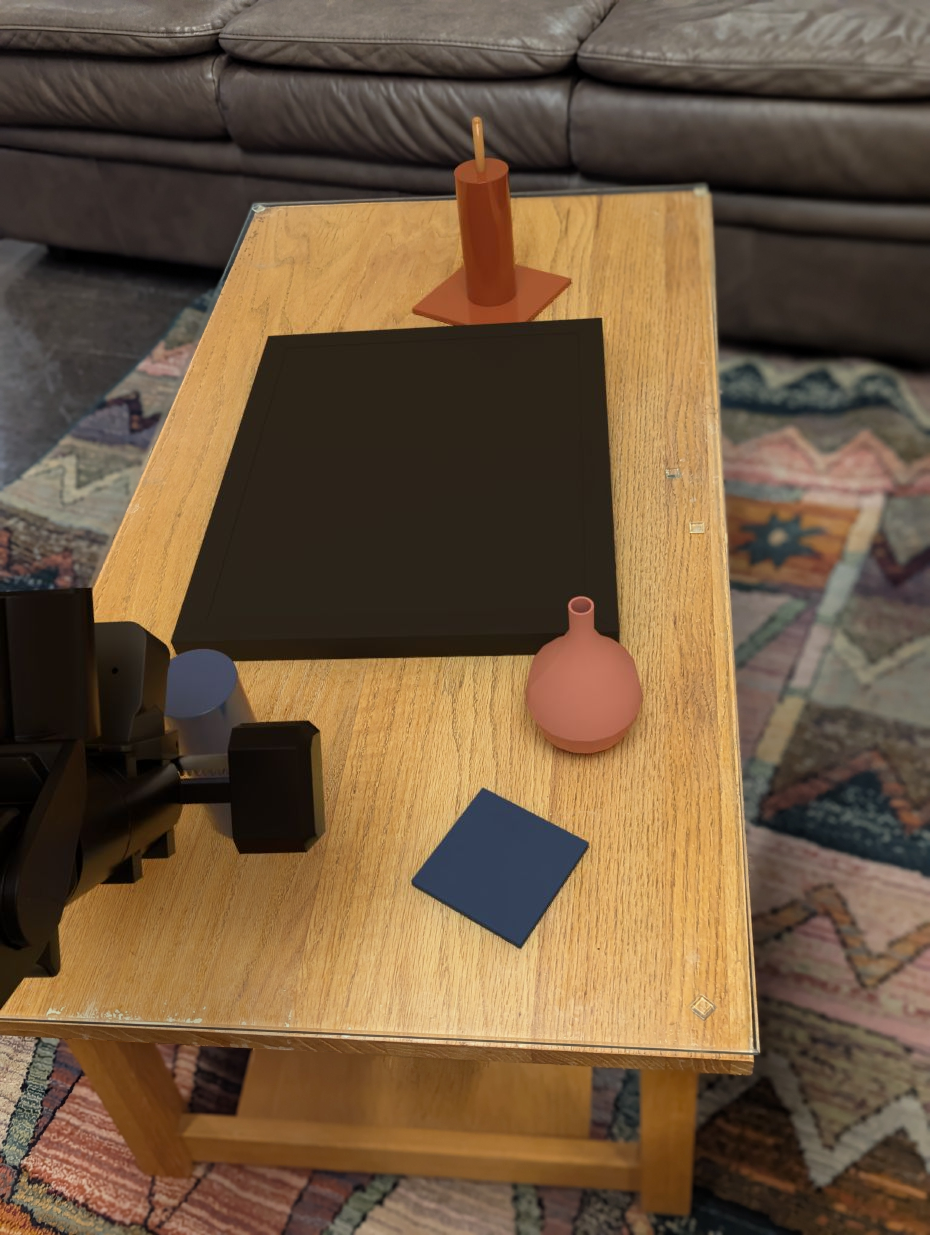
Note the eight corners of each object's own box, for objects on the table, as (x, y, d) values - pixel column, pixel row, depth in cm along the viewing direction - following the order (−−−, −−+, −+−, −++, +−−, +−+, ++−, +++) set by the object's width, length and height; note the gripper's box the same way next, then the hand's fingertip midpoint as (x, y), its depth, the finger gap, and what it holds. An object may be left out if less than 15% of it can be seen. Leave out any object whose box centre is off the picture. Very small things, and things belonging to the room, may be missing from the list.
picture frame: (179, 662, 81) (619, 653, 78) (170, 641, 80) (619, 631, 76) (273, 356, 109) (602, 338, 105) (268, 335, 107) (602, 317, 103)
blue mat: (520, 949, 63) (520, 945, 63) (411, 885, 67) (410, 880, 66) (589, 847, 67) (589, 841, 67) (483, 791, 71) (482, 786, 70)
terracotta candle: (499, 311, 109) (484, 133, 96) (457, 299, 111) (437, 124, 98) (526, 286, 112) (515, 110, 99) (484, 275, 114) (469, 101, 101)
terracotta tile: (509, 341, 106) (509, 336, 106) (412, 313, 112) (411, 308, 111) (571, 283, 113) (571, 278, 112) (476, 258, 118) (476, 253, 117)
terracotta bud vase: (662, 745, 72) (669, 624, 63) (560, 789, 70) (553, 672, 62) (605, 667, 77) (605, 545, 68) (509, 707, 75) (496, 587, 67)
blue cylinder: (250, 852, 69) (193, 731, 60) (192, 816, 72) (129, 695, 62) (301, 793, 72) (255, 669, 63) (245, 761, 74) (192, 636, 65)
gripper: (269, 629, 45) (344, 613, 61) (-153, 647, 47) (26, 627, 62) (283, 892, 45) (354, 809, 61) (-134, 901, 47) (38, 818, 63)
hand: (191, 760), depth 62 cm, fingers open, 9 cm apart
